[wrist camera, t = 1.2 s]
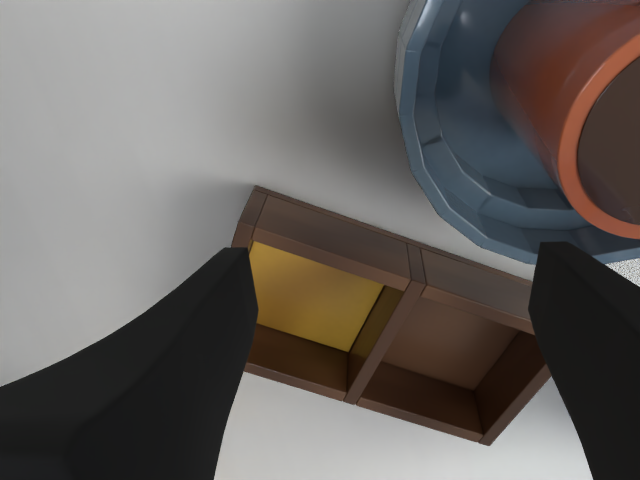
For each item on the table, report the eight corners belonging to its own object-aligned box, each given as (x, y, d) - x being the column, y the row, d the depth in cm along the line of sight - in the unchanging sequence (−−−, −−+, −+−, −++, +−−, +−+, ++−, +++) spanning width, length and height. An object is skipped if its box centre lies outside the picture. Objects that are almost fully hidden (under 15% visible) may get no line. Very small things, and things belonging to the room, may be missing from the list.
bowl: (853, -60, 16) (1004, -61, 12) (605, 247, 23) (653, 309, 19) (499, -224, 15) (545, -284, 11) (347, 154, 21) (342, 199, 18)
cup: (689, 14, 17) (904, 60, 10) (589, 158, 20) (703, 268, 13) (543, -49, 17) (668, -44, 10) (461, 109, 20) (512, 199, 13)
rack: (558, 290, 24) (585, 338, 21) (476, 394, 28) (489, 447, 26) (255, 184, 23) (238, 220, 20) (216, 312, 27) (197, 357, 24)
